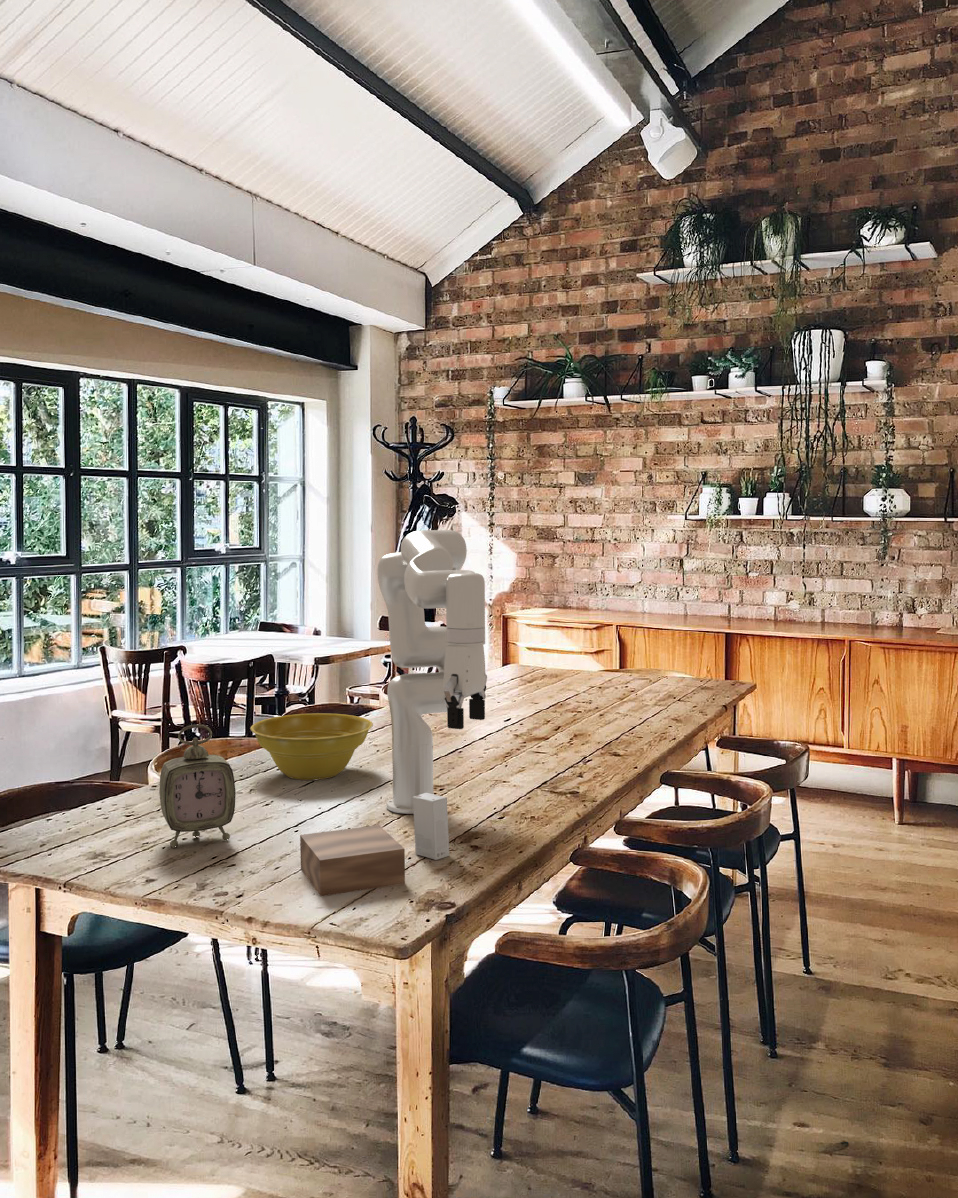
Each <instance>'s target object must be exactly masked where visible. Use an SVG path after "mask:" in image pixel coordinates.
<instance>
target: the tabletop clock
mask: <svg viewBox="0 0 958 1198" xmlns="http://www.w3.org/2000/svg"><path fill="white" fill-rule="evenodd" d="M198 728H201V729H206V730H207V731H208V732H209V736H208V737H207V738H204V739H202V740H199V738H198V737H193V738H192V741H187V740H184V739H182V738H181V737H182V734H183V733H184V732H185V731H187V730H189V729H198ZM212 736H213V732H212V730H211V728H210V727H209V726H207V725H205V724H191V725H187V726H185V727H183V728H182V729H181V730H180V731H179V733H178V736H177V738H178V740H179V741H180V743H182V744H184V745H188V746H189V747H187V748H186V749H185V750H184V752H183V755H182V756H181V757H176V758H172V759H170V760H168V761H165V762H164V763H163V765H162V767H161V770H160V775H159V790H158V791H159V800H160V801H159V802H160V809H161V813H162V816H163V818H164V820H165V822H166V824H167V825H168V827H169V829H170V830H171V831H174V832H175V835H174V838H173V839H172V840H171V841H170V843H169V845H170V847H171V848H172V847H175V846H177V845H179V841H178V839H179V836H180V834H181V833H186V832H190V833H192V836H191V837H193V836H195V837H196V836H199V837H200V836H201V832H203V831H207V830H212V829H217V828H218V829H219V831H220V832H221V834H222V836H221V838H222V840H223V839H224V841H225V840H226V841H228V840H230V837H231V834H230V833H228V832H225V829H224V826H226V825H228V824H230V823H231V822H232V820H233V818H234V814H235V810H236V809H235V808H236V795H237V793H236V783H235V781H236V780H235V775H234V772H233V769H232V766H231V764H229V762H228V761H227V760H226V759H225V758H224V757H223V756H220V755H216V754H209V752H208V751H207V750H206V748H205V747H204V746H202V745H203V744H205V743H207V742H208V741H209V740H211V739H212V738H213V737H212ZM201 744H202V745H201ZM227 839H228V840H227ZM175 848H176V847H175Z"/></svg>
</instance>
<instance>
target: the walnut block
mask: <svg viewBox="0 0 958 1198" xmlns="http://www.w3.org/2000/svg"><path fill="white" fill-rule="evenodd" d="M299 837H300V838H299V841H300V842H299V844H300V845H299V846H300V849H299V851H300V869H301V871H302V873H303V874H304V876H305V877H306V878H307V879H308V881H309V883H311V885H312V886H313V888H314V889H315V891H316V892H317V894H318V895H319V896H320V897H325V896H332V895H337V894H338V895H340V894H345V893H353V892H360V891H367V890H371V889H378V888H385V887H391V886H399V885H400V886H401V885H405V884H406V867H405V866H406V864H405V862H406V858H405V857H406V856H405V853H406V852H405V850H406V849H405V847H404V846H402V845H401V844H400V843H399V842H398V841H397V840H396V839H395V838H394V837H393V836H392V835H391V834H390V833H389V832H388V831H386V830H385V829H384V828H383V827H382V826H381V825H380V824H377V825H371V826H370V825H368V826H360V827H354V828H353V827H352V828H345V829H338V830H329V831H321V832H314V833H313V832H312V833H304V834H300V835H299Z"/></svg>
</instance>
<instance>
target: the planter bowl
mask: <svg viewBox="0 0 958 1198" xmlns="http://www.w3.org/2000/svg"><path fill="white" fill-rule="evenodd" d="M373 727H374V723H373V722H372V721H371V720H370V719H367V718H364V717H362V716H356V715H351V714H350V715H349V714H344V713H343V714H341V713H322V712H321V713H319V712H316V713H299V714H298V713H297V714H288V715H280V716H275V717H270V718H265V719H261V720H260V721H257V722H255V723H254V724H252V725H251V726H250V728H249V729H250V731H251V732H252V733H254V735H255V738H256V740H257V742H258V744H259V746H260V747H261V748H262V749H264V750H266V751H267V752H268V753H269V754H270V757H271V759H272V760H273V762H274V764H275V765H276V767H277V768H278V770H279V771H280V772H281V773H282V774H283V775H286V777H288V778H291V779H295V780H303V781H304V780H305V781H313V780H314V781H315V780H317V781H318V780H325V779H330V778H333V777H335V776H338V775H339V774H340V773H341V772H343V771H344V770H345V769H346V767H347V766H348V765H349V763H350V761H351V759H352V757H353V755H354V753H355V751H356V749H358V748H359V747H360V746H361V745H362V744H363V743H364V742H365V740H366V739H367V736H368V733H369V730H371V729H372V728H373Z"/></svg>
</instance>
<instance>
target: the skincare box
mask: <svg viewBox="0 0 958 1198" xmlns="http://www.w3.org/2000/svg"><path fill="white" fill-rule="evenodd" d="M413 809H414V814H413V826H414V827H413V828H414V849H415V855H418V856H421V857H425V858H428V859H431V860H434V861H436V860H437V861H438V860H441V859H444V858H447V857H449V856H450V841H449V838H450V837H449V816H448V814H449V812H448V797H446V796H442V795H437V794H434V793H433V794H430V793H424V794H420V795H417V796H414V797H413Z"/></svg>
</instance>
